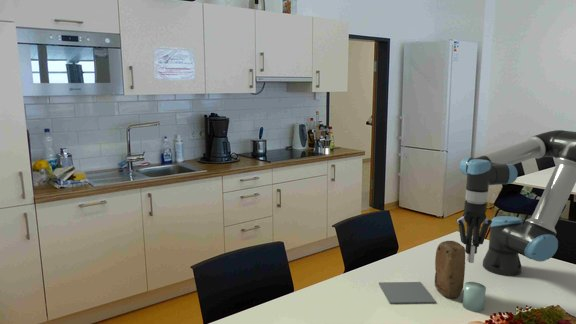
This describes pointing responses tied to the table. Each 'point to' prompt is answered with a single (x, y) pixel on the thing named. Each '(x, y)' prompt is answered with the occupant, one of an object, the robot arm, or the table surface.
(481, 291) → the pale blue rounded cylinder
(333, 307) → the table surface
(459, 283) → the brown sandstone rock
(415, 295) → the mat
